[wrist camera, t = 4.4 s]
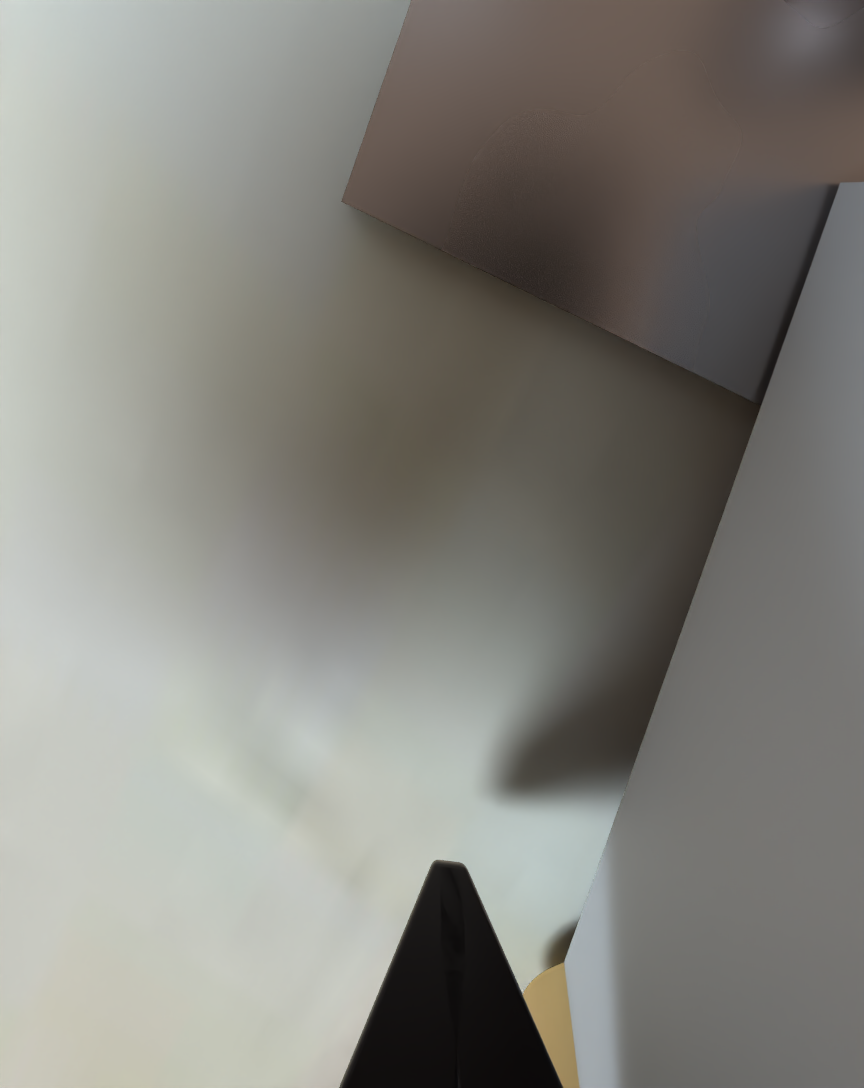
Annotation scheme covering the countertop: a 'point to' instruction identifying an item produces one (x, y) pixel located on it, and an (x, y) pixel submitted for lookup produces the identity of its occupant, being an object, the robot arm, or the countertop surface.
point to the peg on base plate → (627, 159)
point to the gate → (748, 766)
